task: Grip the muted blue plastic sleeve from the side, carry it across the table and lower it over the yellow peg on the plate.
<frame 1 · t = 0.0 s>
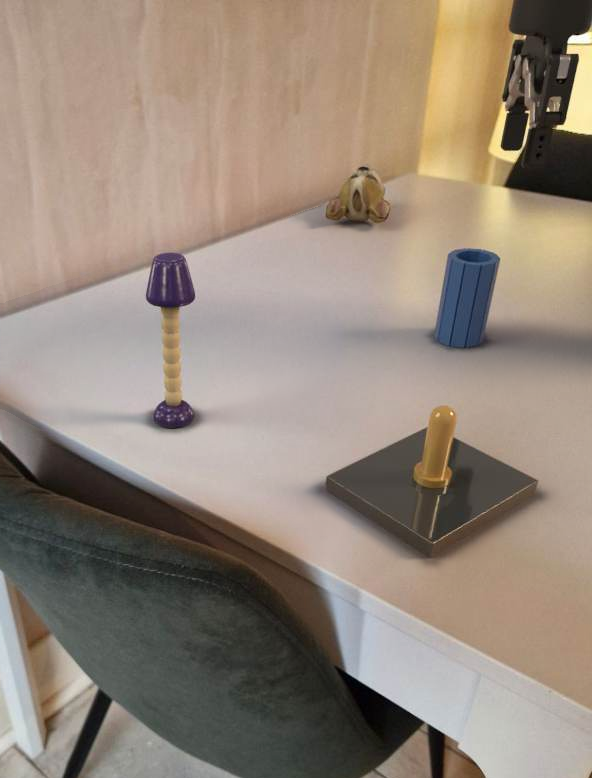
hand: (520, 158, 82), 20 cm above the table, tool pointing down, fingers open, 8 cm apart
sleeve: (458, 337, 93), on the table
yellow peg on plate: (428, 491, 68), on the table
ceramic sculpture: (358, 219, 133), on the table
toy lamp: (176, 418, 79), on the table
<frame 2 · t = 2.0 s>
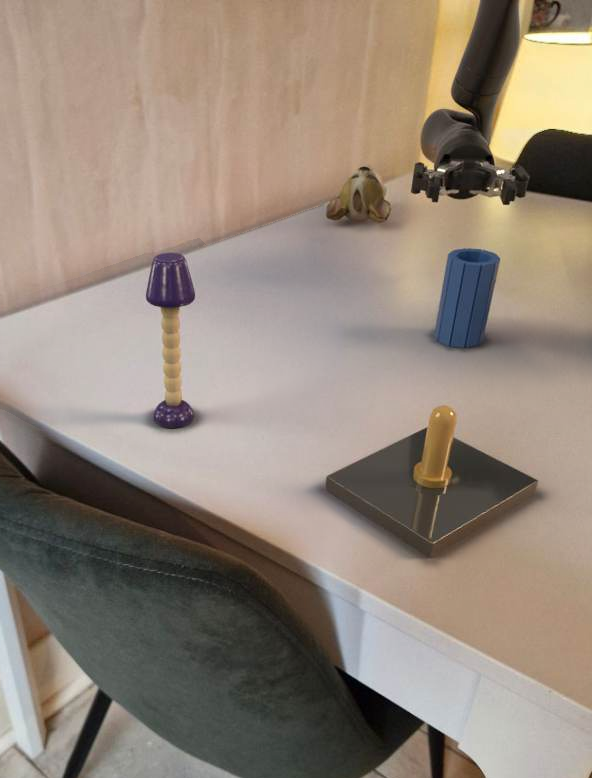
hand: (472, 195, 94), 14 cm above the table, tool horizontal, fingers open, 8 cm apart
nothing on the table moved.
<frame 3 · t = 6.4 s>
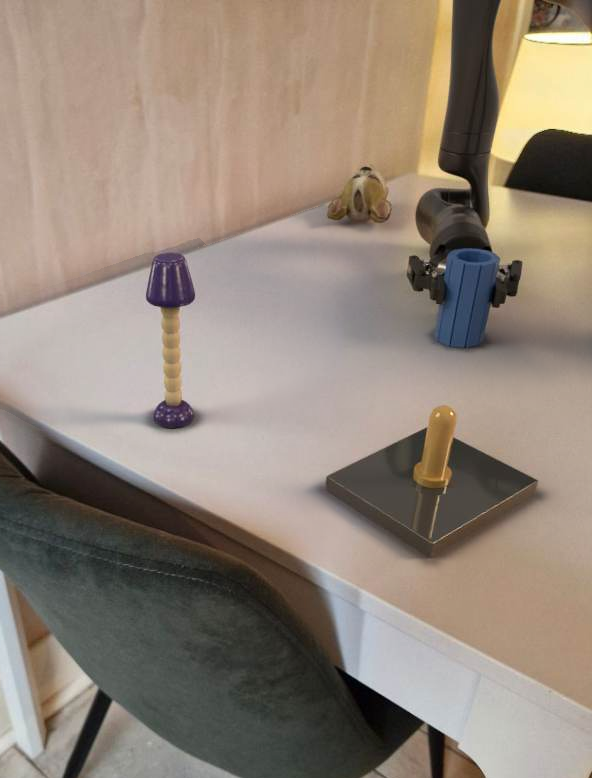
hand: (469, 298, 88), 6 cm above the table, tool horizontal, fingers closed on sleeve, 5 cm apart
sleeve: (458, 337, 93), on the table, touching gripper
everything else where it was.
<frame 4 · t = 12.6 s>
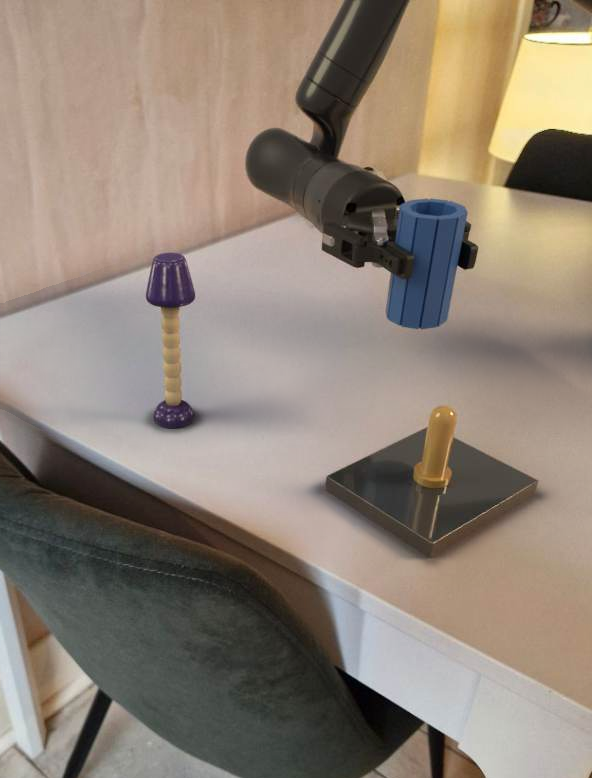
hand: (441, 263, 67), 17 cm above the table, tool horizontal, fingers closed on sleeve, 5 cm apart
sleeve: (415, 316, 73), point 11 cm above the table, touching gripper
everything else where it was.
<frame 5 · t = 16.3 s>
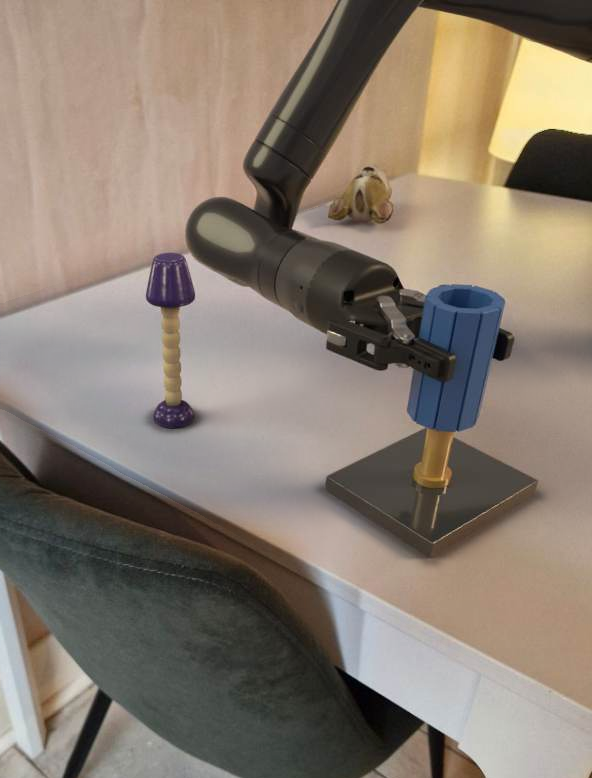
hand: (480, 358, 58), 14 cm above the table, tool horizontal, fingers closed on sleeve, 5 cm apart
sleeve: (442, 414, 63), point 8 cm above the table, touching gripper
everything else where it was.
when the fingers open (8 cm above the table, at t = 19.1 s): sleeve stays where it is, resting on yellow peg on plate.
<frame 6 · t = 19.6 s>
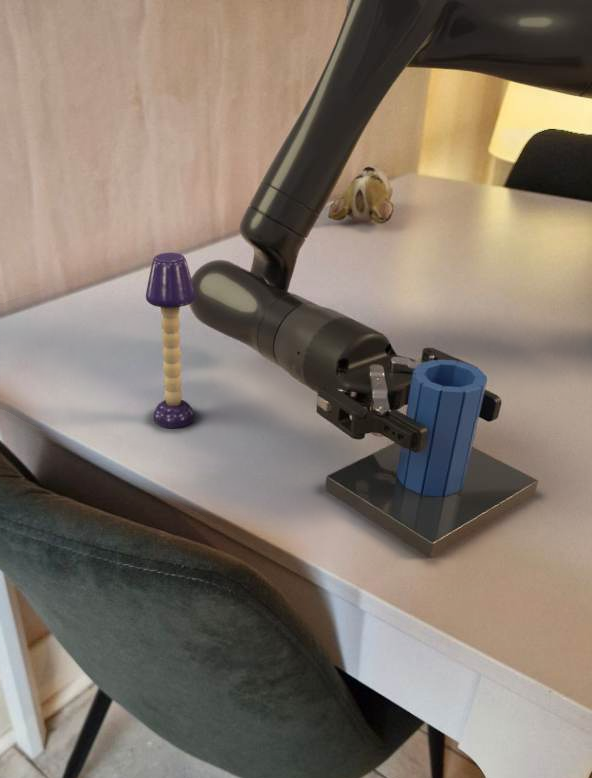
hand: (461, 425, 62), 8 cm above the table, tool horizontal, fingers open, 8 cm apart
sleeve: (430, 477, 67), point 1 cm above the table, touching yellow peg on plate
everything else where it was.
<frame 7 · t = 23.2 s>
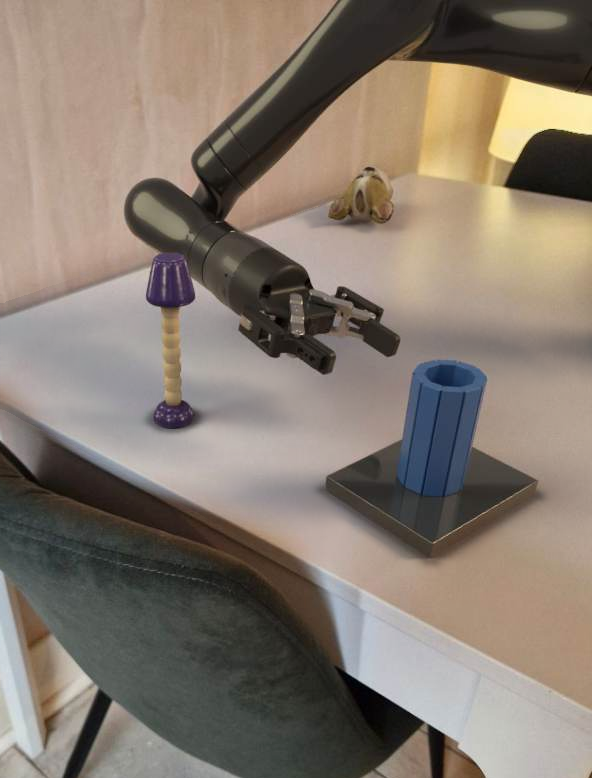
hand: (364, 356, 70), 9 cm above the table, tool horizontal, fingers open, 8 cm apart
nothing on the table moved.
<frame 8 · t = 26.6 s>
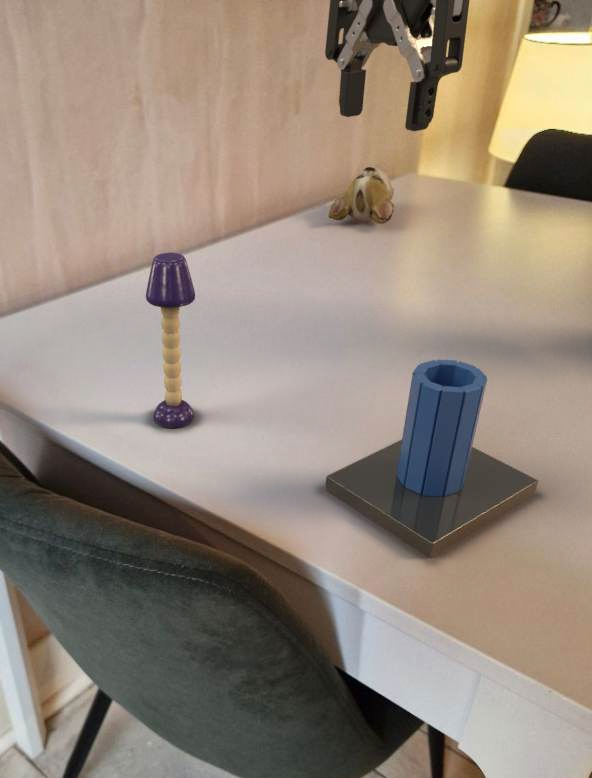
hand: (382, 122, 69), 26 cm above the table, tool pointing down, fingers open, 8 cm apart
at the end: sleeve 0.1 cm off-centre on the yellow peg on plate, point 1.5 cm above the yellow peg on plate's base; sleeve tilted 0°; the gripper is holding nothing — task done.
